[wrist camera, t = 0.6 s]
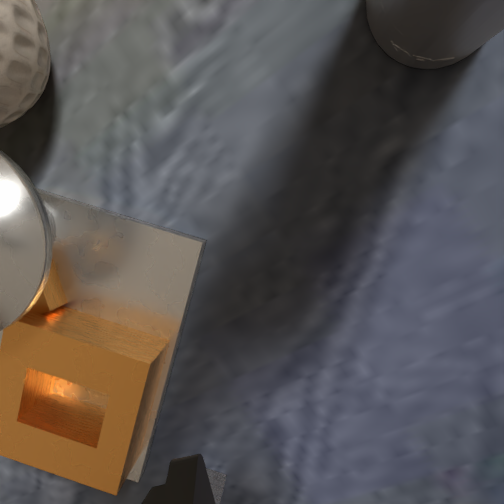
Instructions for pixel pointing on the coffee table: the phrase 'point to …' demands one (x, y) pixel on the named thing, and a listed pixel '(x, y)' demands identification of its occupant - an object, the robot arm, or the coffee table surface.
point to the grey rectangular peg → (216, 484)
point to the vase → (21, 58)
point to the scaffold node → (86, 331)
